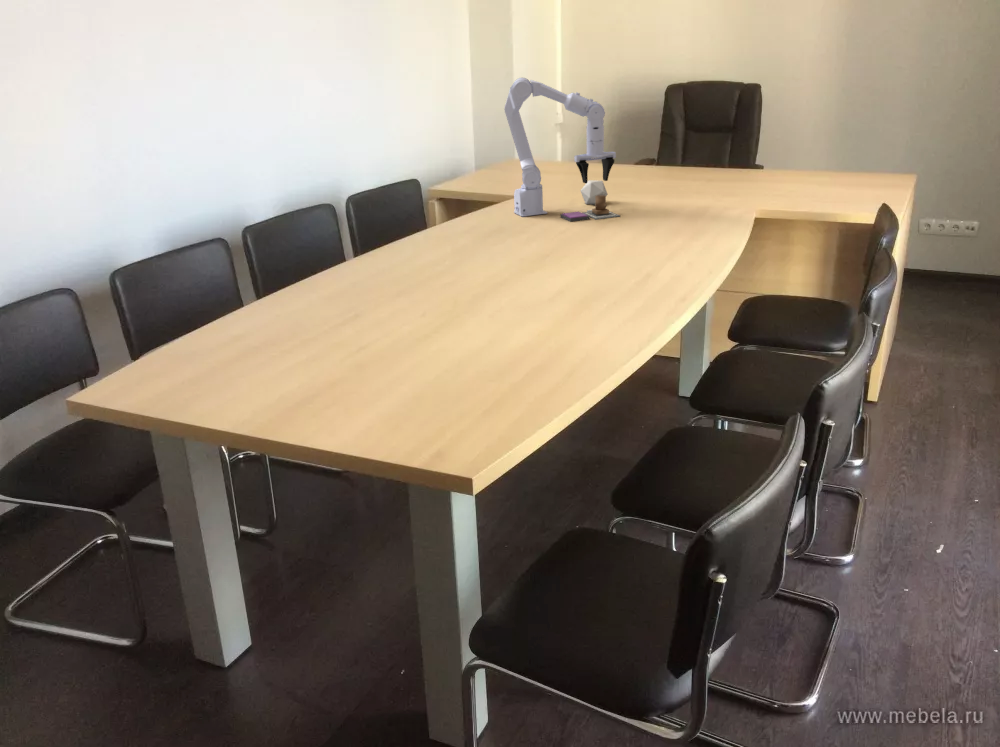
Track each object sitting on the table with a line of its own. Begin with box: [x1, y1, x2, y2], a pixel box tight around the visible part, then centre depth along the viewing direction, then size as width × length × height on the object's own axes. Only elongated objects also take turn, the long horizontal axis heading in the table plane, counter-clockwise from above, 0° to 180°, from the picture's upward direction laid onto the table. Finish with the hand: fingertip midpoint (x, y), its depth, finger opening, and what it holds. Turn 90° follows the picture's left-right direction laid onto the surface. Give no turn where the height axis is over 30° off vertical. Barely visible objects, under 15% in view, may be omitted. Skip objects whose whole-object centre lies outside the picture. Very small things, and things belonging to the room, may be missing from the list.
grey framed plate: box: [582, 209, 621, 220], centre depth 282 cm, size 9×11×1 cm
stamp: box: [591, 195, 610, 216], centre depth 281 cm, size 4×4×6 cm
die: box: [580, 179, 608, 206], centre depth 299 cm, size 8×9×10 cm
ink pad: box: [559, 211, 591, 223], centre depth 279 cm, size 7×8×1 cm
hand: (595, 181), depth 285 cm, fingers open, 7 cm apart
